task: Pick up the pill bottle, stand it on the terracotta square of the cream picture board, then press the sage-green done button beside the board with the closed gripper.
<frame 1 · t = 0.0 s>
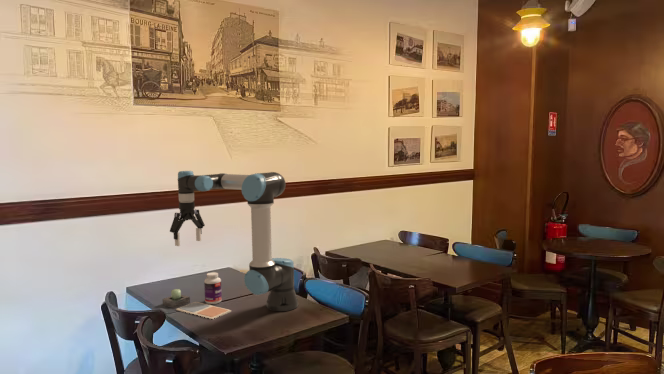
hand: (188, 243, 241), 28 cm above the table, fingers open, 13 cm apart
button housing: (176, 303, 233), on the table
board: (203, 310, 223), on the table
done button: (176, 294, 233), point 5 cm above the table, slide at 0.0 cm
pill bottle: (213, 302, 235), on the table
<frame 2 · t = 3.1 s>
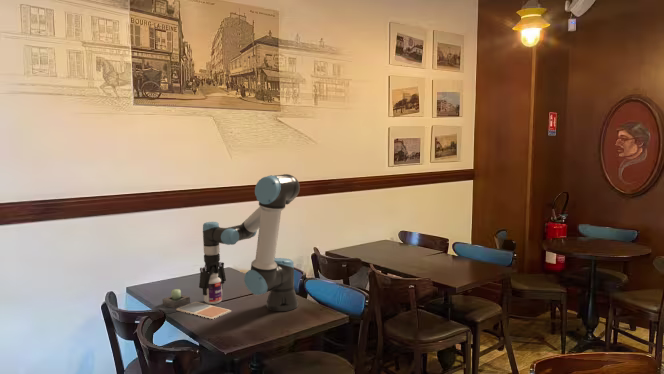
hand: (213, 298, 235), 2 cm above the table, fingers closed on pill bottle, 8 cm apart
pill bottle: (213, 302, 235), on the table, touching gripper
everything else where it was.
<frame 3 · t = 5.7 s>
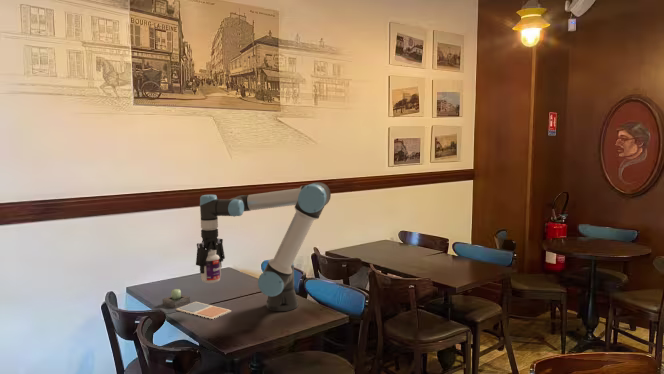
hand: (211, 277, 218), 17 cm above the table, fingers closed on pill bottle, 8 cm apart
pill bottle: (211, 281, 219), point 15 cm above the table, touching gripper
everything else where it was.
when the fingers open (4 cm above the table, at t = 8.3 s): pill bottle drops 2 cm, resting on board.
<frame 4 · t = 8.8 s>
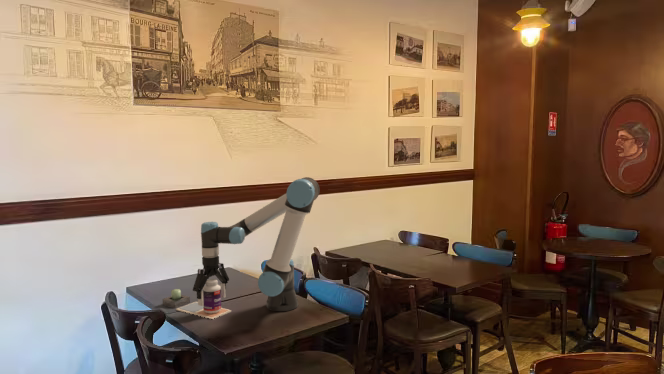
hand: (212, 301, 219), 6 cm above the table, fingers open, 13 cm apart
pill bottle: (212, 311, 220), point 1 cm above the table, touching board
everything else where it was.
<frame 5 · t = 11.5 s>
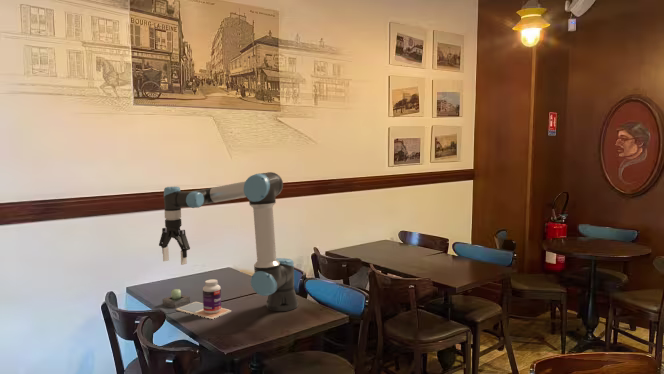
hand: (174, 262, 231), 21 cm above the table, fingers open, 12 cm apart
nothing on the table moved.
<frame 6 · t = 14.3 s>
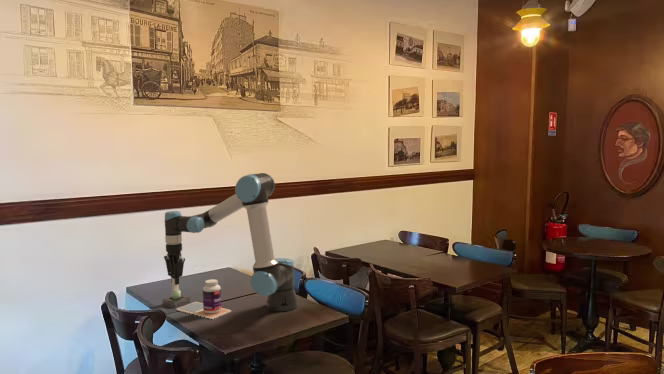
hand: (175, 290, 233), 7 cm above the table, fingers closed
done button: (176, 294, 233), point 5 cm above the table, slide at 0.3 cm, touching gripper
everything else where it was.
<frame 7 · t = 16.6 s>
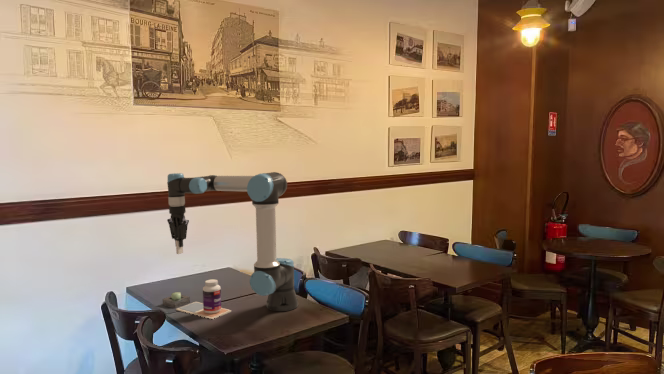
hand: (179, 253, 232), 25 cm above the table, fingers closed
done button: (176, 297, 233), point 3 cm above the table, slide at 1.6 cm
everything else where it was.
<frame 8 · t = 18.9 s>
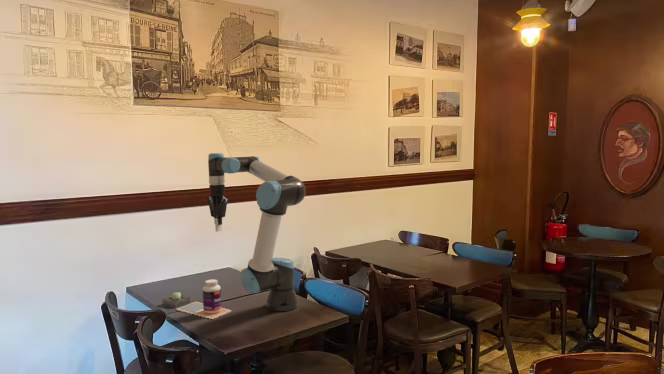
hand: (218, 230, 239), 34 cm above the table, fingers closed
nothing on the table moved.
at the end: pill bottle inside the target area on the board (0.0 cm from its centre), point 0.6 cm above the board's base; pill bottle tilted 0°; done button slide at 1.6 cm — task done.
